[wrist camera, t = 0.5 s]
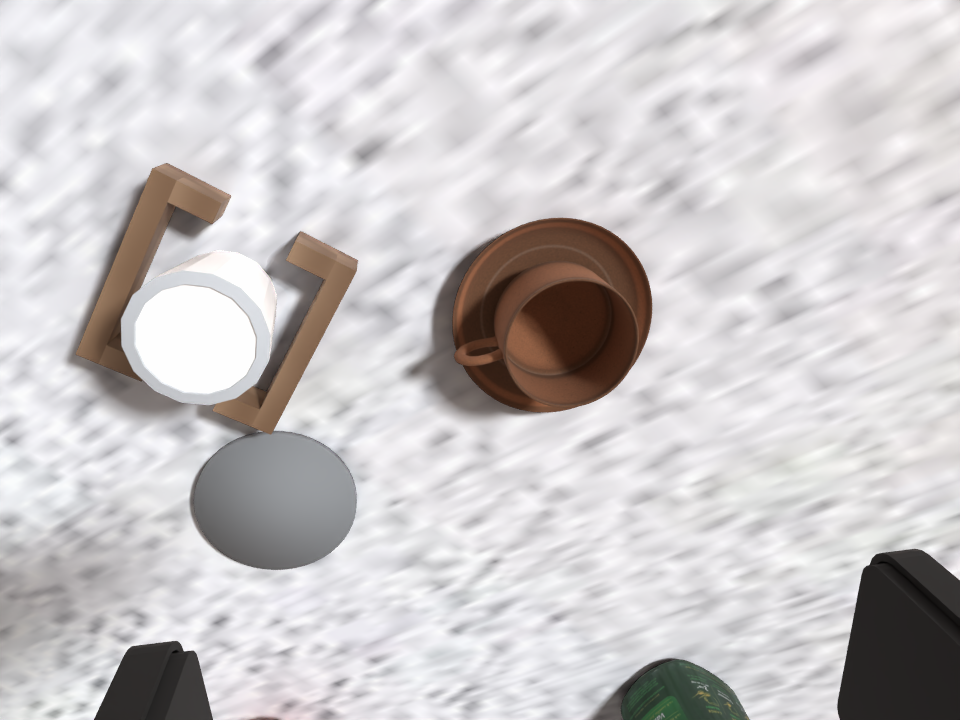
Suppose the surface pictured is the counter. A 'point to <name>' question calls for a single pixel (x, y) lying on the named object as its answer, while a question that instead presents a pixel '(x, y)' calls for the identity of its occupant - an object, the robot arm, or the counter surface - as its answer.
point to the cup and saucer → (552, 315)
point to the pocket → (137, 255)
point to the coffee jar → (681, 695)
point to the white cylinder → (202, 328)
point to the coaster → (275, 500)
